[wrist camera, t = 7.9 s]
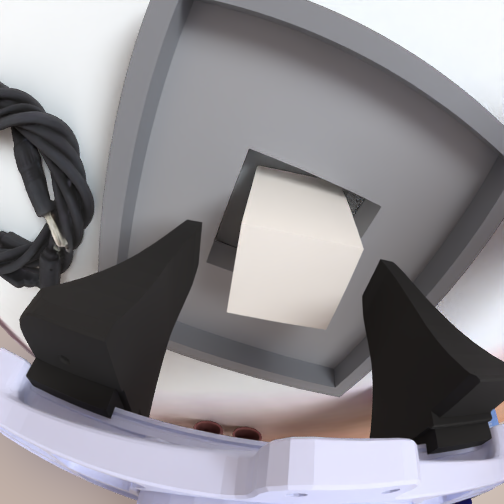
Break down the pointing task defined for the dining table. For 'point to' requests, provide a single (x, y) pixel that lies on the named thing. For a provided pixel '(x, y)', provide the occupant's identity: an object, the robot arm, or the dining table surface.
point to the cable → (44, 192)
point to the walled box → (298, 155)
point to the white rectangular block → (294, 250)
